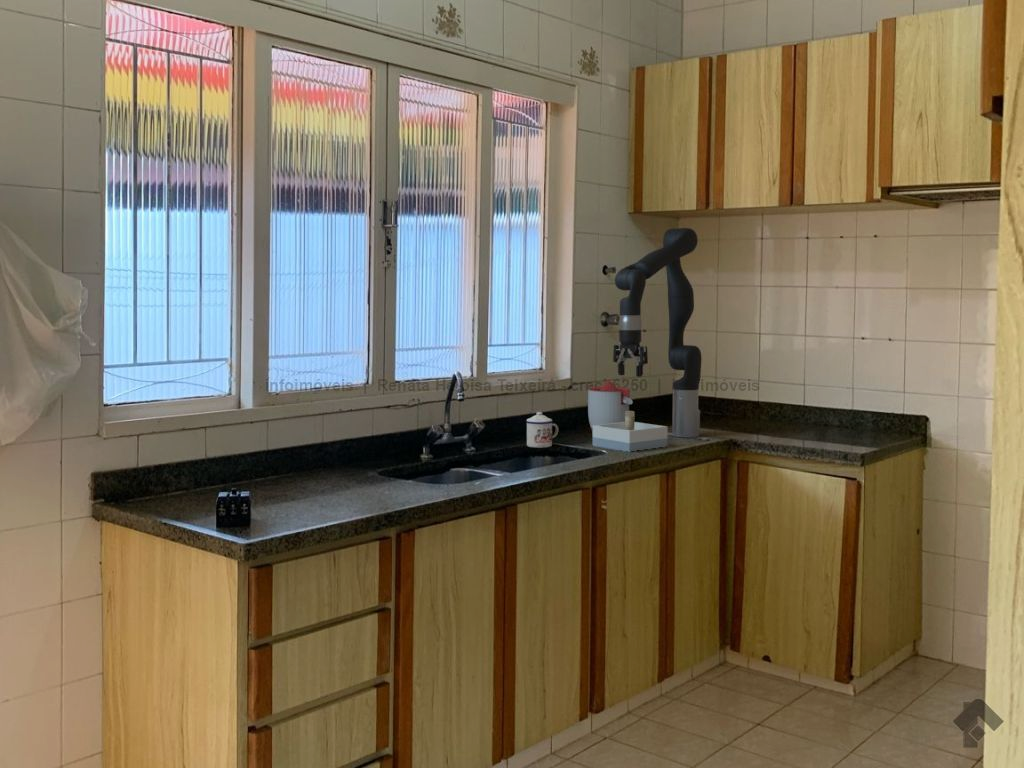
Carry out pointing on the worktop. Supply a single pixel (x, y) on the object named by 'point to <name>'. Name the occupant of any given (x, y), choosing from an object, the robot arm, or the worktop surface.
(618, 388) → the citrus juicer
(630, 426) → the peg
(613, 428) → the box
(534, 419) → the teacup with lid
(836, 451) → the worktop surface
